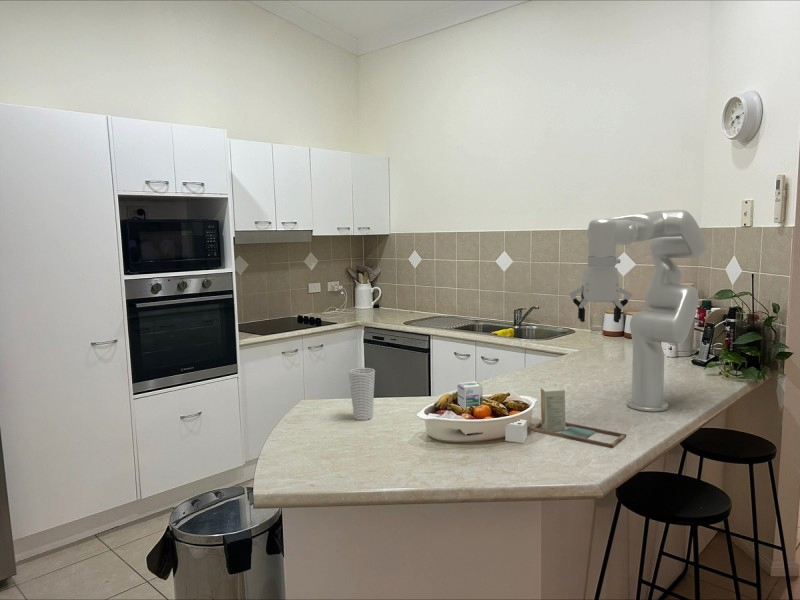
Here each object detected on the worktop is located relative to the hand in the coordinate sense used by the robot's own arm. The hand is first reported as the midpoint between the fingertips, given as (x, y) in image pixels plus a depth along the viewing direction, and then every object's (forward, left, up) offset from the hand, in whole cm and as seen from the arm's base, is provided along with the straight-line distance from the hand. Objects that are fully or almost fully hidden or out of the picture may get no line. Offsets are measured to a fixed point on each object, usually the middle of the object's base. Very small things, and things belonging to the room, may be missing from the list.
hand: (599, 321), depth 168 cm
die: (+23, -15, -32) cm, 42 cm away
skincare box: (+9, -10, -32) cm, 35 cm away
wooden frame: (+9, -3, -32) cm, 33 cm away
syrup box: (+25, -29, -32) cm, 49 cm away
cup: (+34, -64, -32) cm, 79 cm away
